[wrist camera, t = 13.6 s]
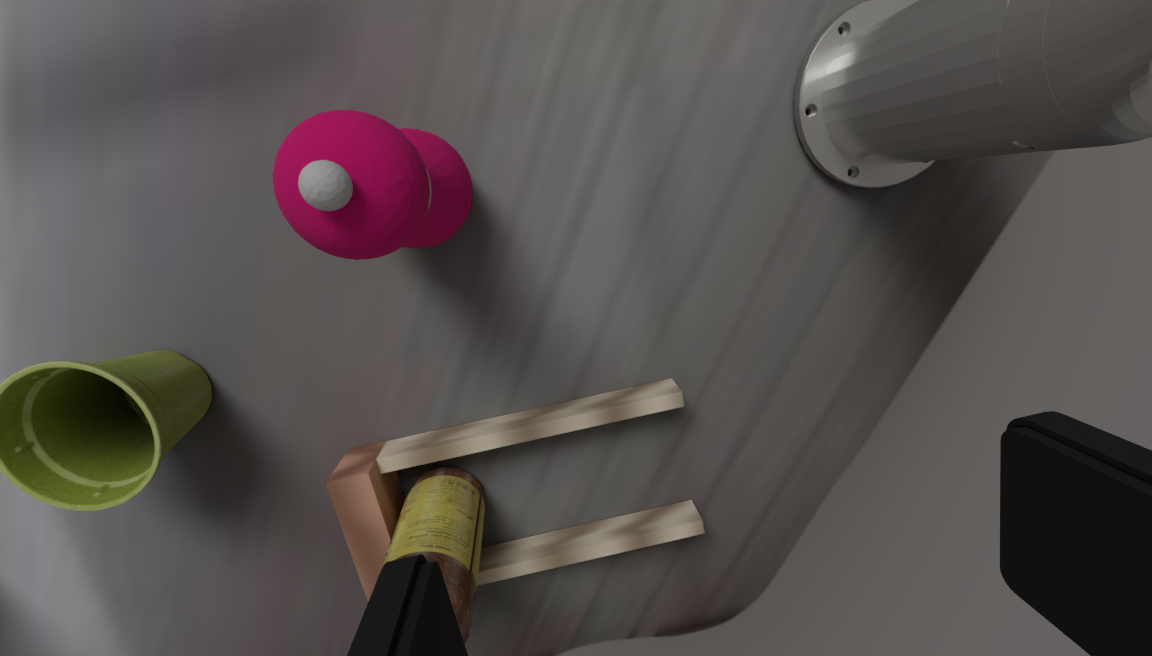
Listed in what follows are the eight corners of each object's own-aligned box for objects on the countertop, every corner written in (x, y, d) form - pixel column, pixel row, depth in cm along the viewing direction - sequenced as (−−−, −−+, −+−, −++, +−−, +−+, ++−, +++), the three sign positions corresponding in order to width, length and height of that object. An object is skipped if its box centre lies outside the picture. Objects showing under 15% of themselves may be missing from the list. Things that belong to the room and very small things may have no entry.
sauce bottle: (396, 479, 43) (286, 712, 23) (468, 451, 43) (417, 661, 23) (430, 544, 44) (354, 811, 25) (500, 517, 44) (477, 764, 25)
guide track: (671, 378, 42) (689, 401, 38) (693, 511, 46) (712, 549, 41) (348, 449, 42) (325, 482, 37) (393, 580, 45) (377, 627, 40)
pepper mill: (413, 113, 36) (280, 19, 17) (499, 182, 38) (466, 169, 18) (353, 198, 37) (161, 201, 18) (438, 262, 39) (348, 329, 19)
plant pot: (77, 344, 38) (-51, 386, 30) (206, 312, 38) (115, 345, 30) (134, 459, 40) (31, 528, 32) (256, 428, 41) (185, 488, 32)
